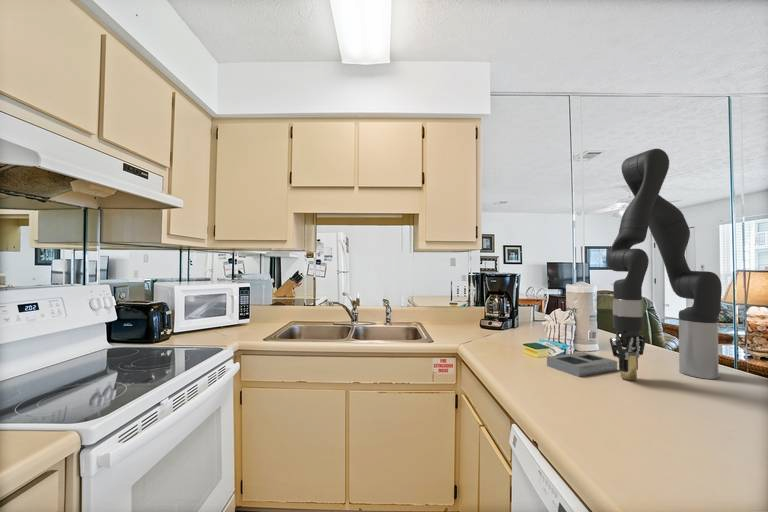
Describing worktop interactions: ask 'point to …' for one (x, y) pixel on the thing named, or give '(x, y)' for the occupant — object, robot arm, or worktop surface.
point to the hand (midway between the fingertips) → (628, 370)
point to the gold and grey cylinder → (631, 367)
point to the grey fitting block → (582, 364)
